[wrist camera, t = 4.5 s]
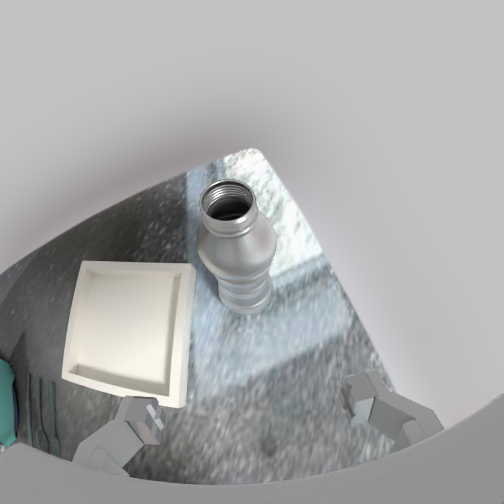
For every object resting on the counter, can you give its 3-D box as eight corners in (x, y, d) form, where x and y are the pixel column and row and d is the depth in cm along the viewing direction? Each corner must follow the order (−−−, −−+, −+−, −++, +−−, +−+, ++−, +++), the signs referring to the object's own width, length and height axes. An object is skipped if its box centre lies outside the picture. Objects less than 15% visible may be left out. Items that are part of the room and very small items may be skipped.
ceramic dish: (185, 406, 29) (178, 408, 26) (73, 379, 30) (61, 378, 27) (197, 272, 37) (191, 263, 34) (92, 268, 38) (82, 260, 35)
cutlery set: (-22, 341, 32) (-29, 339, 30) (60, 373, 31) (52, 371, 29) (-21, 423, 23) (-28, 423, 21) (68, 481, 22) (60, 484, 20)
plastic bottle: (236, 264, 37) (210, 154, 19) (281, 285, 35) (295, 182, 18) (212, 304, 35) (157, 219, 17) (258, 328, 33) (249, 262, 15)
